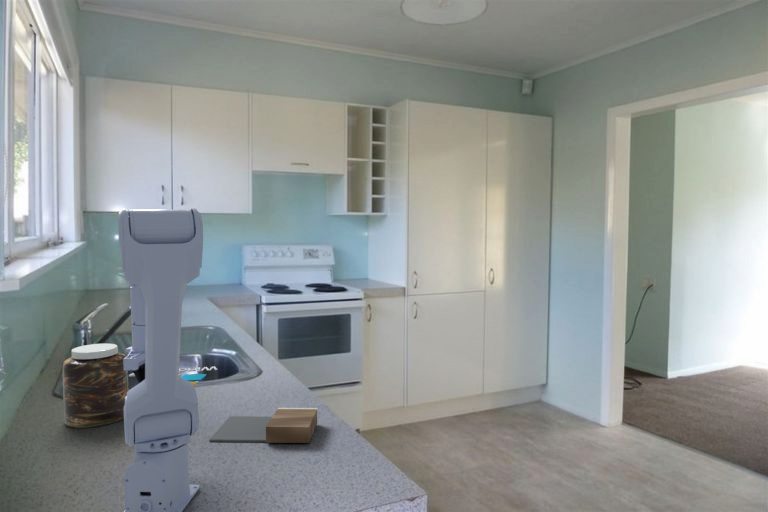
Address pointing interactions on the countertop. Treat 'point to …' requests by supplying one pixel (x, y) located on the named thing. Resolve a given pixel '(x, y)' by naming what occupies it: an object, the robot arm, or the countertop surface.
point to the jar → (94, 386)
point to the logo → (191, 377)
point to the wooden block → (292, 425)
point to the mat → (242, 429)
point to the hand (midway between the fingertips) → (152, 400)
